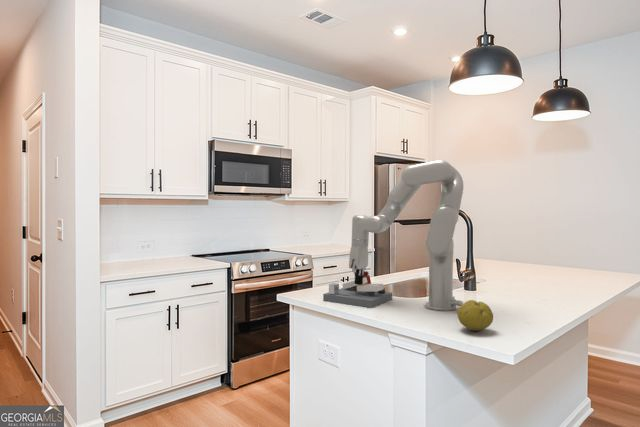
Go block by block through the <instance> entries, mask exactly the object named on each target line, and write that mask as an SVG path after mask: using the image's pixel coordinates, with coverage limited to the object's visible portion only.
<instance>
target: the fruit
mask: <svg viewBox="0 0 640 427" xmlns="http://www.w3.org/2000/svg"><path fill="white" fill-rule="evenodd" d="M456 312H457V319H458V321H459V323H460V324H461V325H462V326H463V327H465V328H466V329H468V330H470V331H471V332H481V331H484V330H485V329H487V328H489V327H490V325H492V323H493V321H494V313H493V311H492V309H491V307H490V306H489V305H488V304H487V303H485V302H483V301H476V300H473V299H471V300H468V301H466V302H463V304H462V305H461V306H459V307H458V308H457V311H456Z"/></svg>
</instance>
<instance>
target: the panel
mask: <svg viewBox="0 0 640 427" xmlns="http://www.w3.org/2000/svg"><path fill="white" fill-rule="evenodd" d="M357 286H358V285H357ZM357 286H353V287H349V288H345V289H343V287H342V288H341V287H340V288H339V293H337V294H329V291H328V292H326V293H323V296H322V299H323V302H330V303H337V304H342V305H350V306H355V307H361V308H362V307H363V308H369V309H373V308H375V307H378V306H380V305H383V304H385V303H386V302H389V301H391V300H393V292H389V291H386V288H385V287H384V289H383V290H380V291H378V292H364V291H357Z"/></svg>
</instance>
